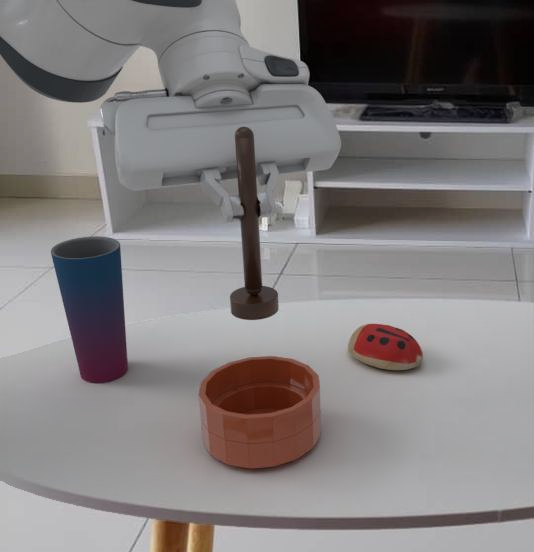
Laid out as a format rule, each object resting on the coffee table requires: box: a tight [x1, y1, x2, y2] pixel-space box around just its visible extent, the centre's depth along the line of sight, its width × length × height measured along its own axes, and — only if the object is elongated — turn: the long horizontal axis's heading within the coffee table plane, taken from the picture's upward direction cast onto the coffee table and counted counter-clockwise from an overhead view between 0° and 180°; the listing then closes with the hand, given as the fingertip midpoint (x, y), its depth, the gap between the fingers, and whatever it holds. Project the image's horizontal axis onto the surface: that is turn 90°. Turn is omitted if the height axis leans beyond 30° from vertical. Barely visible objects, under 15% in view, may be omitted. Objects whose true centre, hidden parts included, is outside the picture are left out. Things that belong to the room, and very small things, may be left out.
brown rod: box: [229, 127, 280, 321], centre depth 67 cm, size 4×4×17 cm
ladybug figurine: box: [347, 323, 424, 371], centre depth 88 cm, size 7×10×4 cm
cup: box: [50, 235, 129, 384], centre depth 82 cm, size 7×7×15 cm
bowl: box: [198, 355, 322, 469], centre depth 72 cm, size 11×11×6 cm
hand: (251, 216), depth 66 cm, fingers closed on brown rod
